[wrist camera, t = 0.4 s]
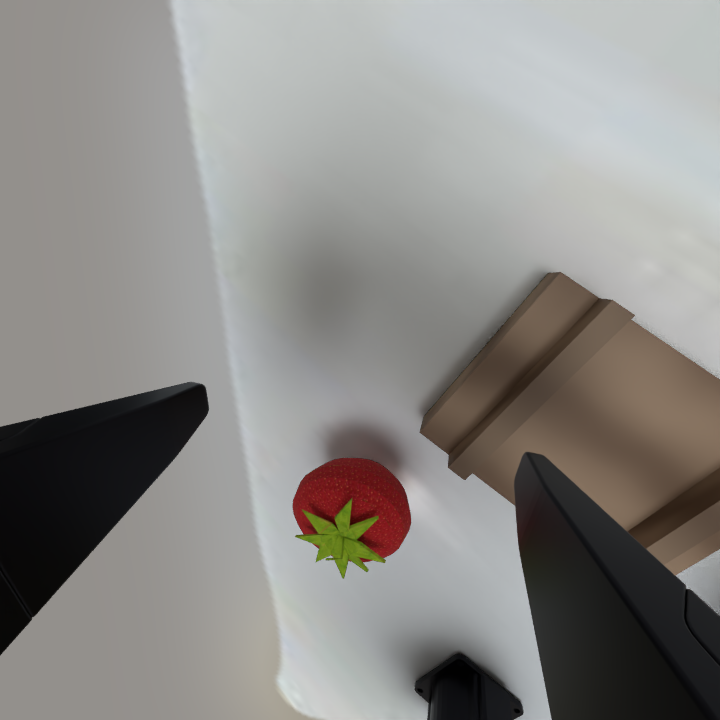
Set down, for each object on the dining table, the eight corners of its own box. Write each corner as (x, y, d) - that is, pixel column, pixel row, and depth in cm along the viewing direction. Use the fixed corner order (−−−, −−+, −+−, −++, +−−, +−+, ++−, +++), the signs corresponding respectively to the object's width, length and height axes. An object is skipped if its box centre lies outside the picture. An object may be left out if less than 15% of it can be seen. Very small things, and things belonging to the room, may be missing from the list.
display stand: (617, 564, 22) (649, 623, 18) (423, 417, 23) (416, 443, 19) (800, 444, 17) (892, 489, 14) (548, 272, 19) (569, 271, 15)
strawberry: (327, 421, 26) (252, 502, 16) (424, 437, 24) (401, 540, 14) (327, 486, 27) (258, 595, 18) (417, 506, 25) (393, 641, 16)
